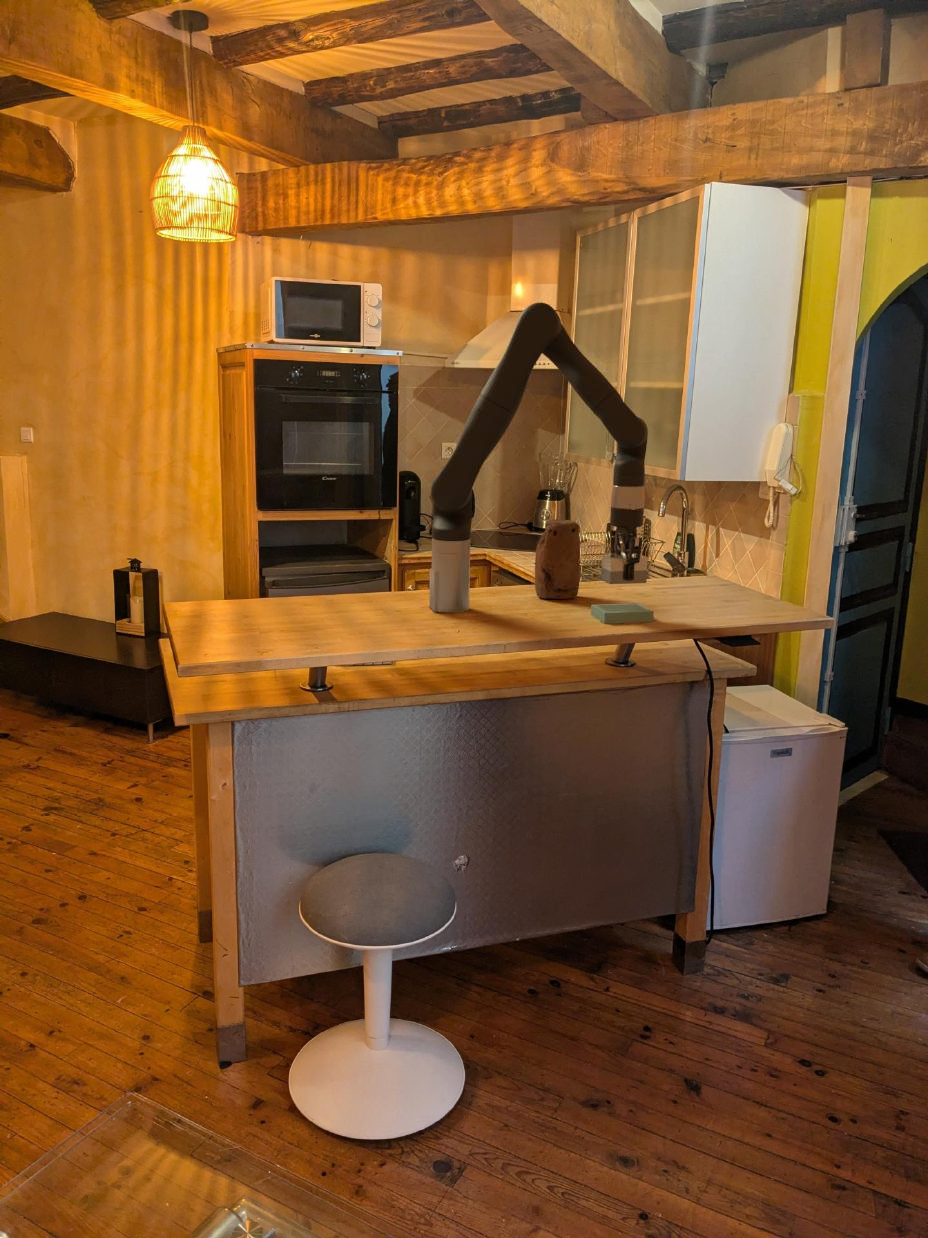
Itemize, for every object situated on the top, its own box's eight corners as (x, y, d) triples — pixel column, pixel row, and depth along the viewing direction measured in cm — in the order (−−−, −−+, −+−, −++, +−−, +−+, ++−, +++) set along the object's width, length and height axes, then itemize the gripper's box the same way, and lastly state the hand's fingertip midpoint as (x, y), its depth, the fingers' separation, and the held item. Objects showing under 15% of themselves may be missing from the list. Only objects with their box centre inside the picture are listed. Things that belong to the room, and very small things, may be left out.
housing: (609, 584, 218) (611, 555, 216) (601, 579, 223) (602, 551, 221) (646, 583, 220) (648, 554, 218) (636, 578, 225) (638, 550, 223)
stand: (604, 623, 218) (604, 612, 217) (590, 615, 226) (591, 604, 226) (653, 621, 220) (653, 611, 220) (638, 613, 229) (638, 603, 228)
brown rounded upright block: (569, 593, 251) (573, 518, 246) (581, 599, 244) (584, 522, 239) (531, 595, 248) (533, 519, 243) (541, 601, 241) (544, 522, 236)
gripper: (600, 502, 223) (597, 573, 227) (623, 509, 210) (619, 584, 213) (630, 501, 225) (627, 572, 229) (655, 508, 211) (651, 583, 215)
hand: (623, 577), depth 221 cm, fingers closed on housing, 5 cm apart
